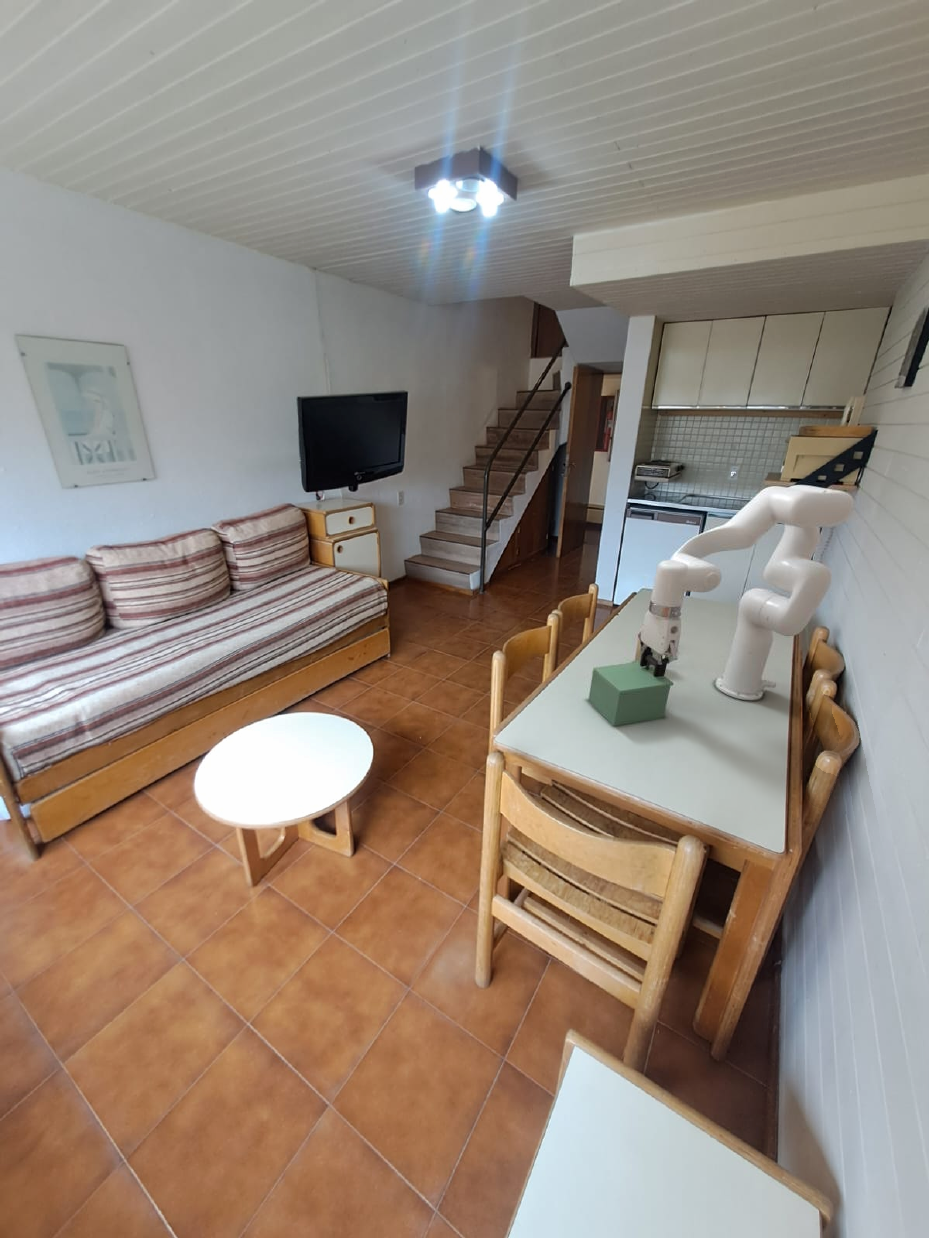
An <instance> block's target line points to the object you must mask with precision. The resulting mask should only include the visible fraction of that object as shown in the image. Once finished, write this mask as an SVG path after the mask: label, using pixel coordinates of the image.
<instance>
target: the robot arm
mask: <svg viewBox="0 0 929 1238" xmlns="http://www.w3.org/2000/svg"><path fill="white" fill-rule="evenodd" d="M854 508H855V500H854V498H853V496H852V495H851V494H850V493H848V492H846V491H843V490H837V489H831V488H826V487H820V486H813V485H807V484H795V485H791V486H789V487H786V486H778V485H772V486H768V487H765V488H764V489H762V490H760V491H759V492H758V493H757V494H756V495H755V496H754V497H752V498H751V500H749V502H747V503H746V504H745V505H743V507H742V508H741V509H740V510H739V511H737V513H736V514H735V515H733V516H732V517H731V518H730V519H729V520H728V521H727V522H726V523H724V524H722V525H720V526H716V527H714V528H711V529H709V530H706V531H704V532H701V533H699V534H697V535H695V536H693V537H692V538H690V539H688V540H687V541H686V542H684V544H683V545H682V546H680V547H679V548H678V549H677V550H676V551H675V552H674V553H673V554H672V556H671V557H669V559H667V560H662V561H660V562H658V564H657V567H656V571H655V576H654V581H653V587H652V591H651V597H650V602H649V608H647V611H646V613H645V616H644V619H643V623H642V627H641V630H642V631H641V633H640V634H639V633H638V634H637V637H638V638H639V640H640V641H641V642H640V644H641V647H642V648H641V652H642V656H641V661H640V666H641V667H644V666H646V662H647V661H646V660H645V657H646V656H647V655H651V656H653V652H651V651H652V650H655V651H656V652H658V663H656V664H655V669H654V674H653V676H654V677H660V676H665V675H666V670H667V666H668V664H670V663H672V662H674V661H677V660H678V658H679V657H678V650H679V647H680V646H679V645H680V641H681V633H682V618H680V617H681V616H682V612H681V610H682V606H683V601H684V597H685V593H686V592H691V593H709V592H711V591H714V590H715V589H716V588H717V587H719V585H720V584H721V582H722V579H723V577H722V572H721V570H720V569H719V568H718V567H717V566H716V565H715V564H713V563H710V562H709V561H706V560H703V559H704V558H705V557H707V556H710V555H712V554H715V553H716V554H717V553H720V552H729V551H730V552H731V551H739V550H744V549H746V550H747V549H749V548H752V547H753V546H755V544H757V542H759V540H761V539H762V538H763V537H764V536H765V535H766V534H767V533H768V532H770V530H771V529H772V528H774V527H775V526H777V524H782V525H784V531H783V534H782V536H781V538H780V540H779V542H778V544H777V546H776V548H775V549H774V551H773V553H772V555H771V557H770V558H769V560H768V562H767V564H766V566H765V568H764V571H763V574H762V577H763V580H764V581H765V582H766V583H767V584H768V585H770V586H771V587H774V588H777V589H779V590H781V591H785V592H787V593H789V594H791V595H790V597H787V596H785V595H783V594H780V593H778V592H775V591H773V590H770V589H768V588H767V589H766V588H762V587H754V588H751V589H748V590H746V592H744V593H743V594H742V596H741V597H740V599H739V603H738V611H737V612H738V615H737V616H738V617H737V624H736V629H735V633H734V636H733V640H732V644H731V648H730V651H729V655H728V659H727V662H726V666H725V670H724V673H723V676H719V677H718V678H717V679H716V681H715V687H716V688H717V689H718V690H719V691H720V692H722V694H725V695H727V696H729V697H731V698H734V699H738V700H743V701H758V700H760V699H761V698H762V697H763V694H764V691H763V689H765V688H770V689H771V688H772V689H774V688H776V686H777V682H776V681H774V680H767V678H766V677H763V674H764V671H765V668H766V665H767V661H768V658H769V655H770V651H771V649H772V646H773V641H774V633H776V634H779V635H780V636H781V635H782V636H784V637H794V636H797V635H799V634H800V633H801V632H802V631H803V630H804V629H805V628H806V627H807V625H808V624H809V622H810V621H811V618H812V617H813V616H814V614H815V612H816V611H817V610H818V608H819V606H820V604H821V603H822V601H823V599H824V598H825V596H826V594H827V592H828V591H829V589H830V587H831V583H832V572H831V570H830V568H829V567H828V566H827V565H825V564H823V563H821V562H819V561H814V560H812V558H813V555H814V554H815V552H816V550H817V548H818V546H819V544H820V540H821V532H820V528H830V527H831V528H833V527H837V526H839V525H841V524H843V523H845V522H846V521H847V520H848V519H849V518H850V517H851V515H852V514H853V511H854ZM650 665H651V664H650ZM650 665H649V666H650Z"/></svg>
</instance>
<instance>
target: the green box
mask: <svg viewBox="0 0 929 1238" xmlns="http://www.w3.org/2000/svg"><path fill="white" fill-rule="evenodd" d="M591 675H592V676H591V682H590V687H589V694H588V702H589V703H590V704H591V705H592V706H593V707H594V708H595V710H596V711H598V712H599V713H600V714H601V715H602V717H604V718H605V719H606V720H607V721H608V722H609V723H610V724H611V725H612V726H613V727H616V726H617V727H618V726H622V725H629V724H633V723H638V722H639V723H640V722H646V721H650V720H656V719H662V718H664V716H665V712H666V707H667V703H668V699H669V694H670V690H671V686H666V687H660V688H653V689H647V690H640V691H634V692H628V693H621V694H619V693H618V692H617V691H616V690H615V689H614V688H613V687H611V686H610V685H609V684H608V683H607V682H606V681H605V680H604V679H602V678H601V677H600V676H599V675H598V674H597V673H596V672H595V671H593V670H592V674H591Z"/></svg>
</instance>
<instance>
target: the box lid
mask: <svg viewBox="0 0 929 1238" xmlns="http://www.w3.org/2000/svg"><path fill="white" fill-rule="evenodd" d="M645 660H646V661H647V662H646V666H644V667H641V666H640V662H635V661H634V662H626V663H620V664H612V665H604V666H597V667H593V669H592V672H593V671H595V672H596V673H597V674H598V675H599V676H600V677H601V678H602V679H604V680H605V681H606V682H607V683H608V684H609V685H610V686H611V687H613V688H614V689H615V690H616V691H617V692H618V693H619V694H621V693H628V692H634V691H640V690H647V689H653V688H660V687H666V686H670V687H673V686H674V682H673V681H672V680H670V679H669V678H668V677H666V676H665V675H664V676H660V677H654V676H653V674H654V668H653V667H651V666H649V665H650V664H652V665H653V666H655V664H656V663H658V660H656V659H655V658H654V657H652V656H651V655H647V656H646V657H645Z"/></svg>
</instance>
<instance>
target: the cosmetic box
mask: <svg viewBox="0 0 929 1238" xmlns="http://www.w3.org/2000/svg"><path fill="white" fill-rule="evenodd" d="M641 631H642V628H640V629H639V632H638V634H640V633H641ZM640 642H641V641H640V640H639V637H638V639H637V644H636V649H635V650H636V651H635V657H634V662H640V661H641V656H642V652H641V648H642V647H641V644H640ZM651 652H653V656H652V657H654V658H655V659H656V660H658V652H656V651H655V650H652V651H651ZM650 666H651V667H653V668H654V669H655V666H653V665H652V664H651V665H650Z"/></svg>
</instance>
